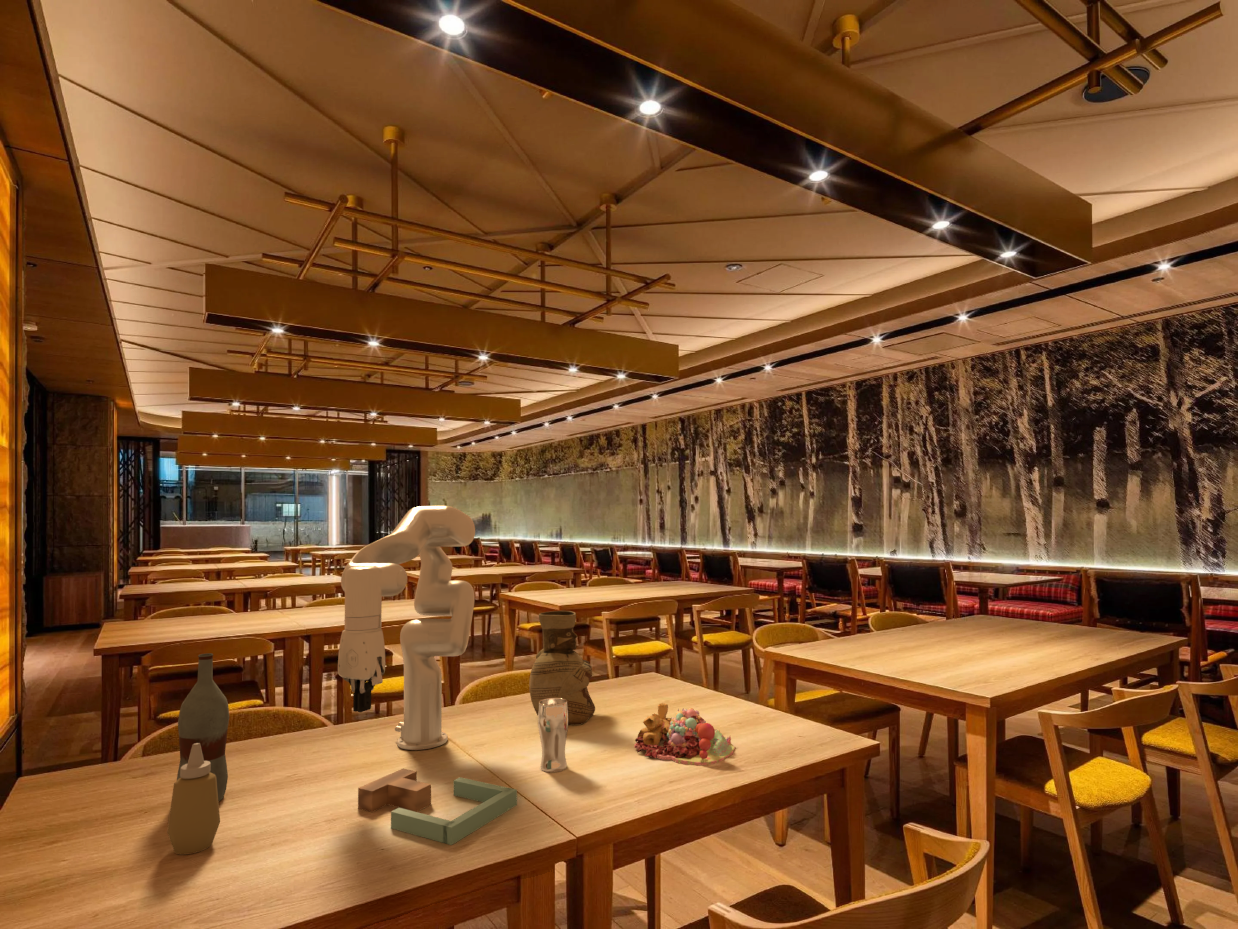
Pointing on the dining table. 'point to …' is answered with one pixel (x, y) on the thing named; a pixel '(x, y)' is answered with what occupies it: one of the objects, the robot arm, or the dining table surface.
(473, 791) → the frame
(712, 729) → the pastel sphere sculpture
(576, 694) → the ceramic vessel
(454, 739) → the dining table surface
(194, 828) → the squeeze bottle
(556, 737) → the beer glass
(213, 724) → the vodka
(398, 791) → the t block
